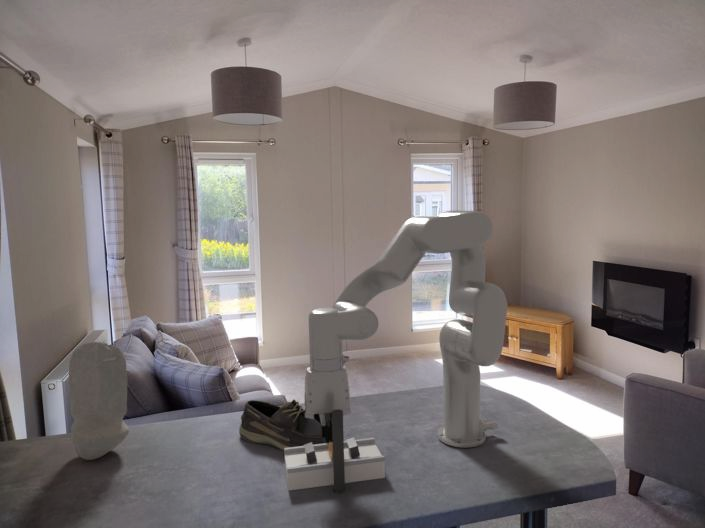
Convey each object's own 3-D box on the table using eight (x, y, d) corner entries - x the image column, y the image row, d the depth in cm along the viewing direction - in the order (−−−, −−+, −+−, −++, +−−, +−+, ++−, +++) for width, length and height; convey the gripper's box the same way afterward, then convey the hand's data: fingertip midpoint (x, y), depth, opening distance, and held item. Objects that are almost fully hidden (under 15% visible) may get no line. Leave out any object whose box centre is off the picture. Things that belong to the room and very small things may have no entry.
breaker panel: (374, 456, 126) (373, 437, 126) (384, 477, 116) (384, 457, 116) (285, 467, 122) (284, 448, 121) (288, 490, 112) (287, 469, 111)
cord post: (343, 486, 113) (341, 408, 111) (345, 492, 111) (343, 413, 109) (333, 488, 113) (330, 410, 111) (335, 493, 110) (332, 414, 108)
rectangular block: (336, 450, 121) (338, 440, 121) (339, 459, 117) (341, 449, 116) (328, 450, 121) (329, 440, 120) (331, 459, 116) (333, 448, 116)
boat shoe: (331, 460, 125) (329, 418, 124) (228, 444, 135) (226, 405, 134) (346, 440, 136) (345, 402, 134) (249, 427, 145) (248, 391, 144)
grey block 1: (314, 451, 120) (312, 442, 120) (317, 460, 116) (314, 450, 115) (306, 454, 120) (303, 444, 119) (308, 463, 115) (305, 453, 115)
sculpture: (62, 471, 123) (51, 350, 119) (77, 448, 134) (67, 337, 131) (129, 463, 126) (120, 345, 122) (138, 441, 137) (130, 333, 134)
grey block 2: (356, 446, 122) (353, 437, 121) (360, 455, 118) (357, 445, 117) (348, 449, 122) (345, 439, 121) (351, 458, 117) (349, 448, 117)
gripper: (355, 355, 121) (356, 429, 123) (292, 360, 118) (294, 436, 120) (362, 365, 114) (363, 443, 116) (295, 370, 111) (297, 451, 113)
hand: (328, 439), depth 118 cm, fingers closed
